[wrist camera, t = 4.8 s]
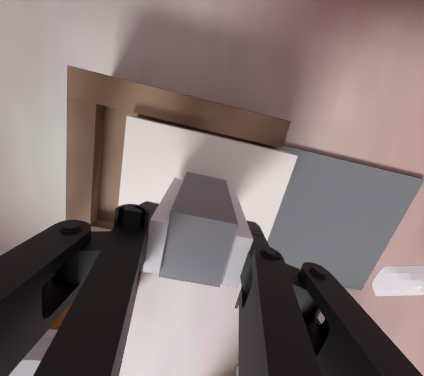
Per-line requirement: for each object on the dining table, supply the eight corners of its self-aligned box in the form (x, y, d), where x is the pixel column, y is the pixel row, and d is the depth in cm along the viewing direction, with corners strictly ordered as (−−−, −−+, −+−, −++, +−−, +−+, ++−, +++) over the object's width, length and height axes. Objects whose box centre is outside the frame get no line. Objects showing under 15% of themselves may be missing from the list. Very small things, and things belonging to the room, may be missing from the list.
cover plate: (125, 222, 19) (55, 307, 10) (136, 116, 16) (52, 112, 7) (255, 247, 20) (290, 342, 11) (287, 151, 17) (367, 184, 8)
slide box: (100, 211, 24) (65, 241, 18) (109, 81, 20) (67, 65, 14) (232, 237, 25) (240, 272, 19) (267, 121, 21) (290, 121, 15)
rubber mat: (232, 264, 27) (232, 266, 26) (271, 142, 22) (272, 143, 21) (358, 288, 28) (360, 290, 28) (421, 178, 23) (424, 179, 23)
